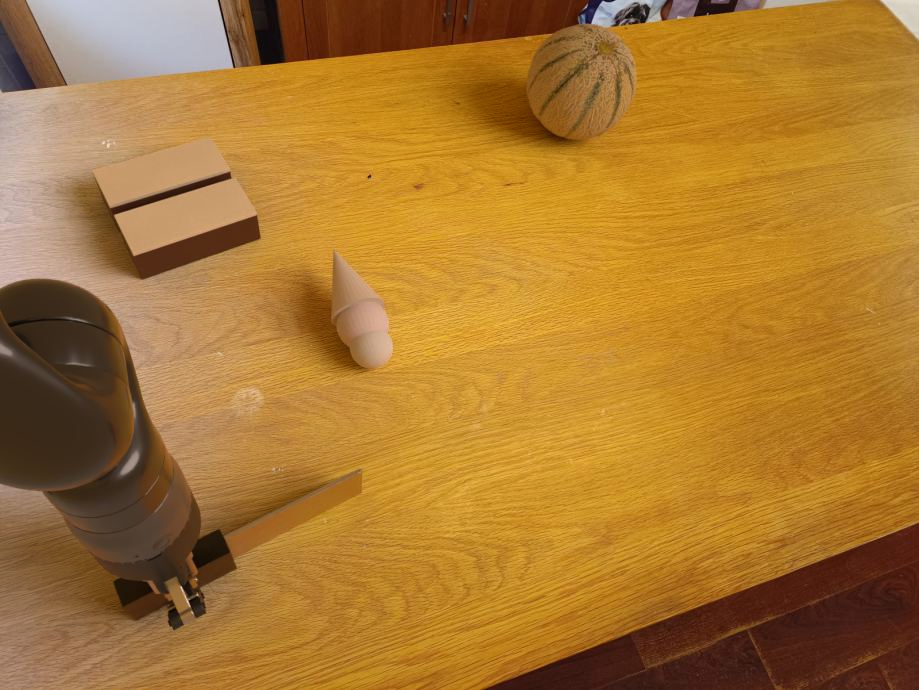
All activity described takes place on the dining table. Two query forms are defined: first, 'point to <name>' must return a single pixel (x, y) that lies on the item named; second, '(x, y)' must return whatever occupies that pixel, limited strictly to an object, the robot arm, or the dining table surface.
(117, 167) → the slotted tan block
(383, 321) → the ice cream cone
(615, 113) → the cantaloupe
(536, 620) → the dining table surface
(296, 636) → the dining table surface
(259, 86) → the dining table surface
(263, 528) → the knife
